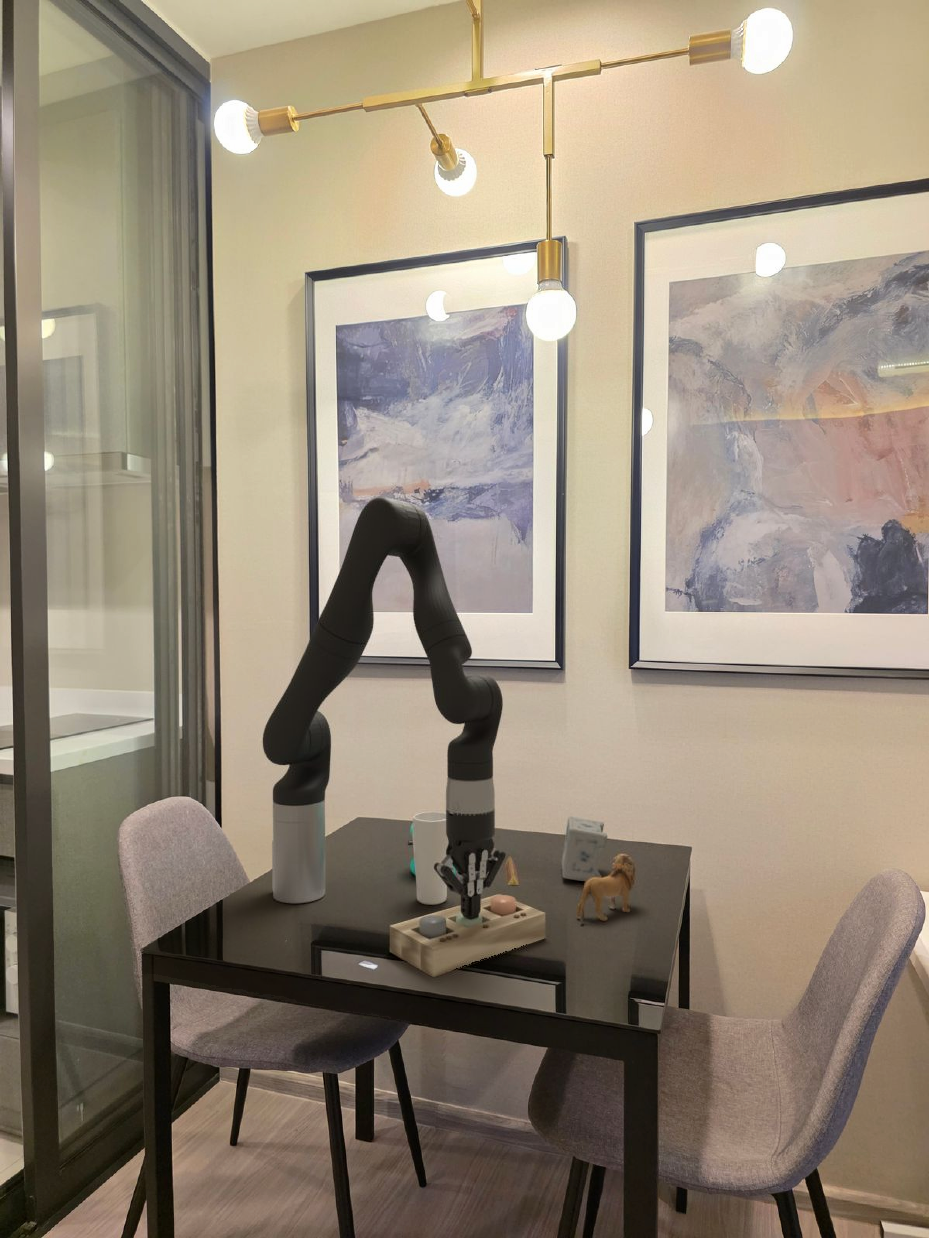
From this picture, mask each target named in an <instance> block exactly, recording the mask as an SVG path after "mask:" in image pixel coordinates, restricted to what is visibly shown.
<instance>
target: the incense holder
mask: <svg viewBox="0 0 929 1238" xmlns="http://www.w3.org/2000/svg"><path fill="white" fill-rule="evenodd" d="M566 824H567V825H566V831H565V836H564V837H565V838H564V843H563V849H562V855H561V860H560V862H561V863H560V864H561V874H562V878H564V879H567V880H574V881H581V882H586V881H587V880H589V879H590V878H593V877H599V878H603V877H602V875H601V873H600V872H599V862H600V856H601V855H600V854H601V850H603V849H605V848H606V847H607V843H608V835H607V832H606V833H605V832H604V828H605V827H604V826H605V823H604V821H597V820H594V819H586V818H580V817H574V816H568V818H567V823H566Z"/></svg>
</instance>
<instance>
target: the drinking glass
mask: <svg viewBox="0 0 929 1238" xmlns="http://www.w3.org/2000/svg"><path fill="white" fill-rule="evenodd" d="M412 824H413V837H412V840H413V843H412V848H413V858H414V862H415V874H416V875H415V883H416V884H415V885H416V887H415V888H416V900H417V901H418V902H419V903H420V904H423V905H429V906H430V905H431V906H435V905H441V904H443V903H444V902H445V901H446V900H447V899H448V887H447V885H446V884H445V883H444V881H443V880H442V879H441V877H440V876H439V875H438V873H437V872H436V871H435V870H434V865H435V863H441V862H442V861H443V859H444V858H445V857H446V849H447V847H448V838H447V835H446V812H441V811H440V812H439V811H425V812H419V813H416V814H414V815H413V817H412Z"/></svg>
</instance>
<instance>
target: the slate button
mask: <svg viewBox="0 0 929 1238" xmlns="http://www.w3.org/2000/svg"><path fill="white" fill-rule="evenodd" d="M424 916H425V915H424ZM421 917H422V916H421ZM419 934H420V935H422V936H424V937H426V938H428V939H433V938H436V937H439V936H442V935H445V934H446V919H445V918H444V917H442V916H436V915H430V916H425V917H422V918H421V919H420V920H419Z"/></svg>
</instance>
